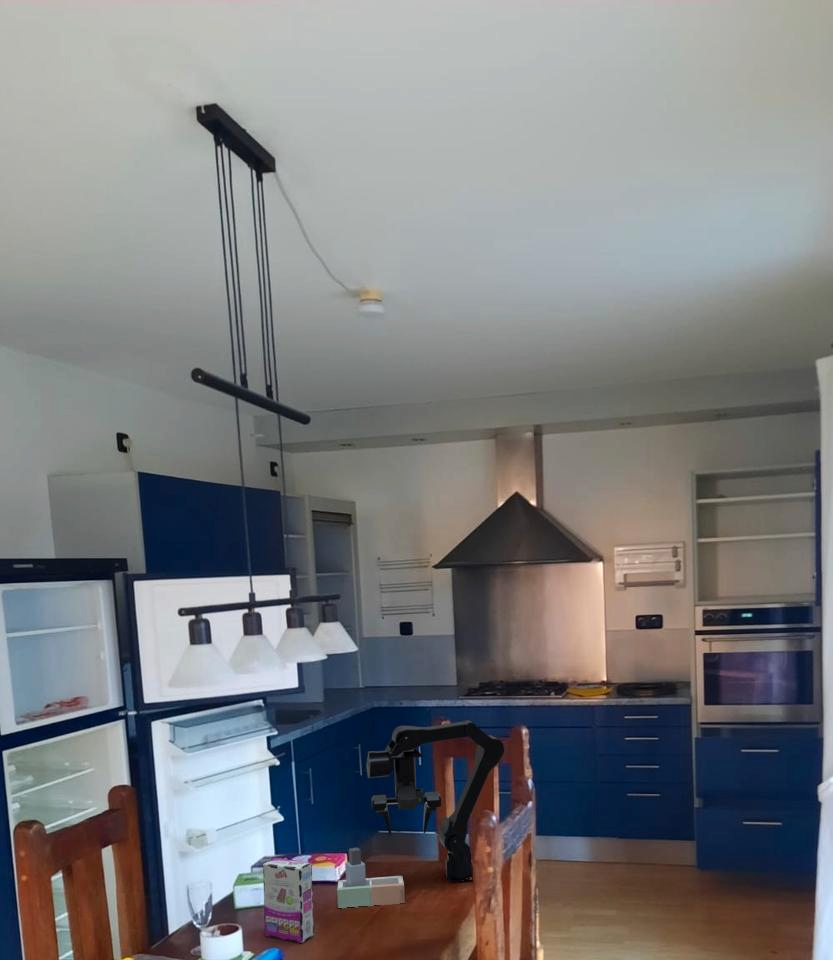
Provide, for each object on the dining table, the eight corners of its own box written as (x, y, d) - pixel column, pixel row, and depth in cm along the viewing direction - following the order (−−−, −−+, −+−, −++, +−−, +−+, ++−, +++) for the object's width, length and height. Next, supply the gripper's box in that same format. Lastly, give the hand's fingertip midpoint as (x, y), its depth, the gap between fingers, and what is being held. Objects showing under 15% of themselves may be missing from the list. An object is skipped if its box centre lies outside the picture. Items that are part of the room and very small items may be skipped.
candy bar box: (315, 935, 194) (313, 862, 196) (302, 944, 190) (300, 869, 192) (276, 928, 199) (274, 856, 201) (263, 936, 195) (261, 863, 197)
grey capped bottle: (361, 895, 217) (359, 845, 219) (366, 900, 213) (364, 850, 215) (346, 898, 215) (344, 848, 217) (351, 904, 212) (349, 852, 213)
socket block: (338, 894, 219) (338, 876, 219) (402, 889, 220) (402, 871, 221) (338, 908, 209) (337, 890, 210) (404, 903, 210) (404, 885, 211)
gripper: (371, 783, 218) (373, 845, 216) (442, 779, 220) (444, 841, 218) (370, 774, 229) (372, 833, 227) (438, 770, 231) (440, 828, 229)
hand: (407, 834), depth 225 cm, fingers open, 9 cm apart
